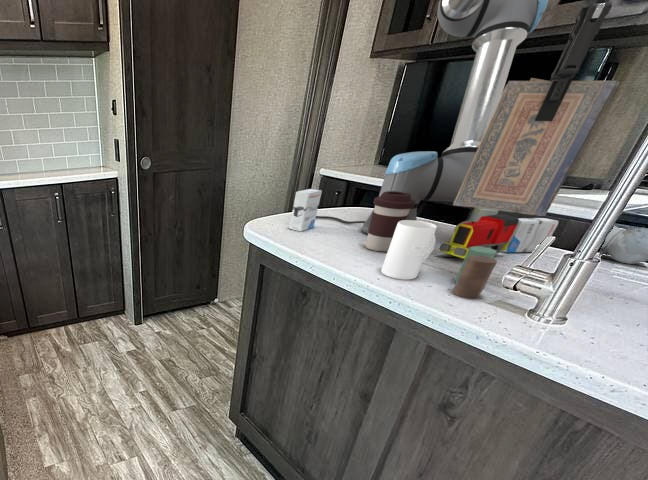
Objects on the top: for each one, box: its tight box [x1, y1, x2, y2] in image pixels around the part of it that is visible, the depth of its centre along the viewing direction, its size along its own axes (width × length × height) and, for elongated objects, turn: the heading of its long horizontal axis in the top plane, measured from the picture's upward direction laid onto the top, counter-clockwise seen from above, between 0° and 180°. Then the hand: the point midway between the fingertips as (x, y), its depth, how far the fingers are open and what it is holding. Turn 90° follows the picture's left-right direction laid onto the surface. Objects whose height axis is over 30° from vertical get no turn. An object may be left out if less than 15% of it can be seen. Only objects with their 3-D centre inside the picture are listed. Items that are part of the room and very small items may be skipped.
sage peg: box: [454, 246, 497, 284], centre depth 91 cm, size 5×5×8 cm
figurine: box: [598, 225, 648, 265], centre depth 104 cm, size 10×9×15 cm
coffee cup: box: [365, 191, 415, 253], centre depth 112 cm, size 10×10×15 cm
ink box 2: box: [500, 217, 559, 254], centre depth 112 cm, size 9×5×12 cm
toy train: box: [438, 213, 519, 260], centre depth 107 cm, size 7×19×10 cm, turn 113°
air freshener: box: [453, 207, 499, 233], centre depth 118 cm, size 11×8×10 cm
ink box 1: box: [288, 188, 323, 232], centre depth 131 cm, size 8×5×12 cm, turn 132°
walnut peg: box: [452, 255, 498, 299], centre depth 86 cm, size 5×5×8 cm
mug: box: [380, 219, 438, 280], centre depth 96 cm, size 8×12×12 cm
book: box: [452, 77, 620, 217], centre depth 84 cm, size 17×7×25 cm, turn 55°
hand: (541, 120), depth 81 cm, fingers closed on book, 7 cm apart
